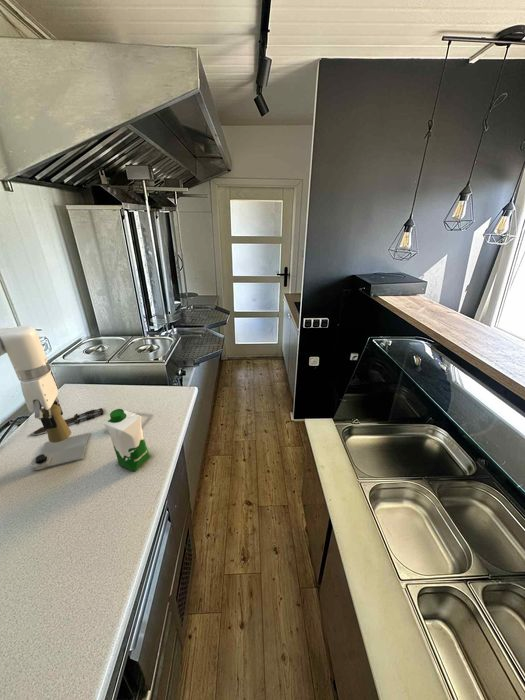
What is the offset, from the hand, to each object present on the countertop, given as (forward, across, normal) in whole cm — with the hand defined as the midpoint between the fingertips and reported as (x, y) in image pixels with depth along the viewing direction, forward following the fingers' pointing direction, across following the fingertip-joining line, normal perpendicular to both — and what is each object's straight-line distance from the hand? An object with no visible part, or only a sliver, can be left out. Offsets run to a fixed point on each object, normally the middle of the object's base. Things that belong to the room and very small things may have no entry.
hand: (54, 421), depth 87 cm
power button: (+17, -4, -9) cm, 20 cm away
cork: (+6, 0, 0) cm, 6 cm away
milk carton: (+19, +5, +20) cm, 28 cm away
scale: (+19, -8, -4) cm, 21 cm away
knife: (+19, -25, -7) cm, 32 cm away
